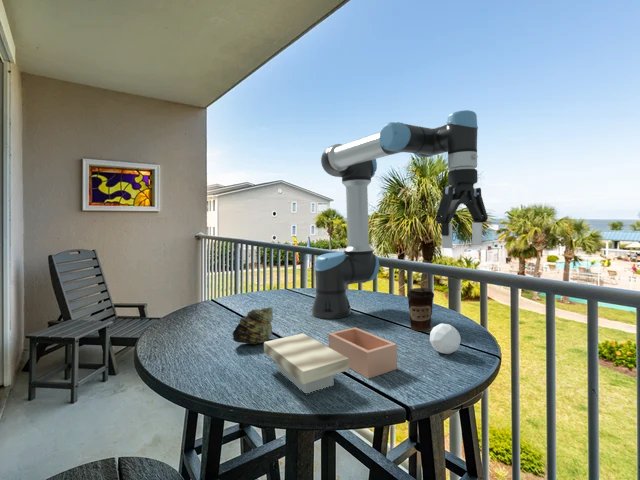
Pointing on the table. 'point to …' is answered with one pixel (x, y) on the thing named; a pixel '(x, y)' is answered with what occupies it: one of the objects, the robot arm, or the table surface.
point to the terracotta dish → (365, 351)
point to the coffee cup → (420, 308)
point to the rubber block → (311, 385)
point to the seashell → (254, 327)
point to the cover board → (306, 357)
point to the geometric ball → (445, 338)
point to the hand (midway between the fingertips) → (462, 246)
